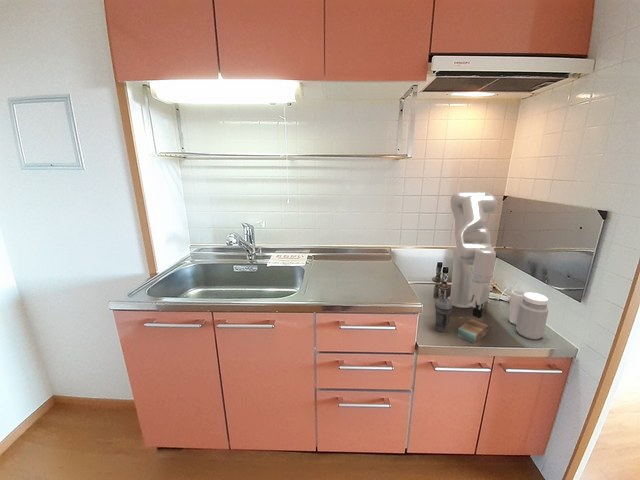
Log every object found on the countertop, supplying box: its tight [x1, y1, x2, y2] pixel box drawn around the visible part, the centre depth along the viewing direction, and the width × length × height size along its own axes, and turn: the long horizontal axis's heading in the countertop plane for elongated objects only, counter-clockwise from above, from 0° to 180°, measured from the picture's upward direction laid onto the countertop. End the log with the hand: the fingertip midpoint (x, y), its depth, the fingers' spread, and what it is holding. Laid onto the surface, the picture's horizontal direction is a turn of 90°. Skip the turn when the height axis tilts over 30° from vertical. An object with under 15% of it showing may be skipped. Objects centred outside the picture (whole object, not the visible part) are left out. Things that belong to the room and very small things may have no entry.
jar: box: [515, 291, 549, 340], centre depth 117 cm, size 10×10×18 cm
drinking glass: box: [508, 289, 527, 325], centre depth 127 cm, size 7×7×15 cm
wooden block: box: [457, 318, 489, 344], centre depth 120 cm, size 4×7×12 cm
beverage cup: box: [434, 289, 454, 333], centre depth 123 cm, size 7×7×20 cm
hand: (477, 316), depth 120 cm, fingers closed
